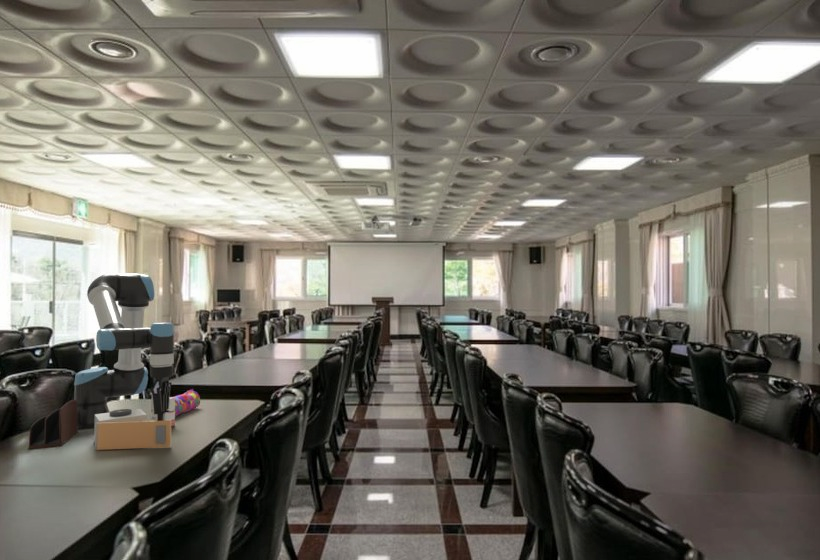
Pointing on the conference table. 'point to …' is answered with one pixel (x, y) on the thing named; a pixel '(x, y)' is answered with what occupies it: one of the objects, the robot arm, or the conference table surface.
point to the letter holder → (54, 427)
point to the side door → (132, 434)
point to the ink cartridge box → (169, 415)
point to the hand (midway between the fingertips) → (161, 431)
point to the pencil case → (186, 402)
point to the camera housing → (120, 416)
